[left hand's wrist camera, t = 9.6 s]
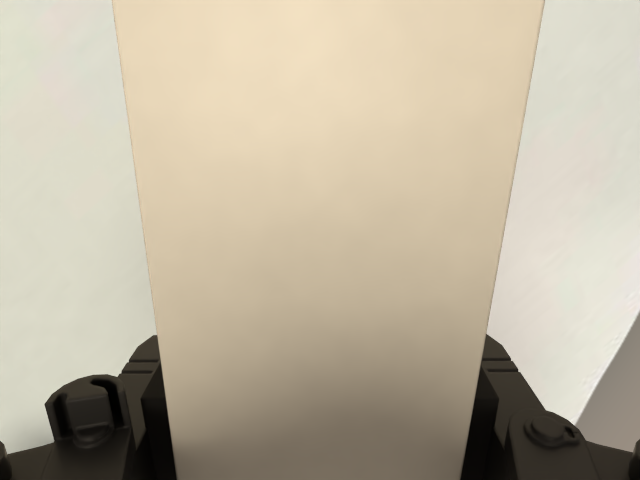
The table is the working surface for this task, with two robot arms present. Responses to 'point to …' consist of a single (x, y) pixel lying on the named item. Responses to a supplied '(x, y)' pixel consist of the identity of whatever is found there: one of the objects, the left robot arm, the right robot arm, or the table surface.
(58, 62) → the table surface
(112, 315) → the table surface
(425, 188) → the beam
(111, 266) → the table surface
